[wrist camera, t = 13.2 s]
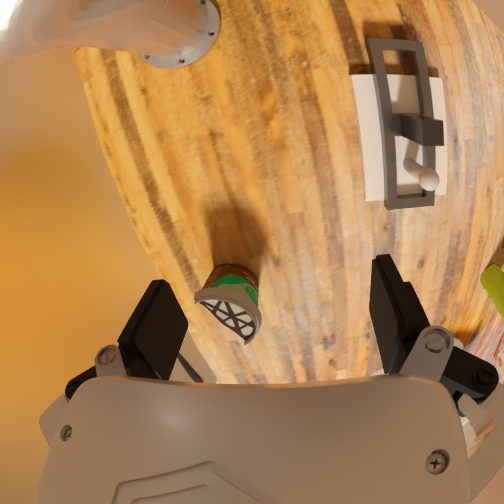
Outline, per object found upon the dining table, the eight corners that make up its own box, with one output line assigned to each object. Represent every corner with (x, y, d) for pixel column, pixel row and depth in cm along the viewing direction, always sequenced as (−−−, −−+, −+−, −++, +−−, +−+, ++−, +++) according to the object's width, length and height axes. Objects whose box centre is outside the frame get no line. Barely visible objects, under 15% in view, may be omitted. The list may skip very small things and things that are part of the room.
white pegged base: (348, 75, 28) (368, 69, 20) (436, 78, 25) (472, 79, 17) (363, 197, 37) (382, 227, 29) (441, 190, 34) (472, 216, 26)
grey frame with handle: (364, 39, 24) (385, 27, 17) (417, 43, 22) (446, 35, 15) (384, 205, 36) (403, 232, 29) (429, 201, 34) (454, 226, 27)
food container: (279, 291, 49) (276, 334, 40) (253, 305, 51) (246, 347, 43) (233, 244, 44) (220, 283, 36) (207, 262, 47) (191, 301, 39)
